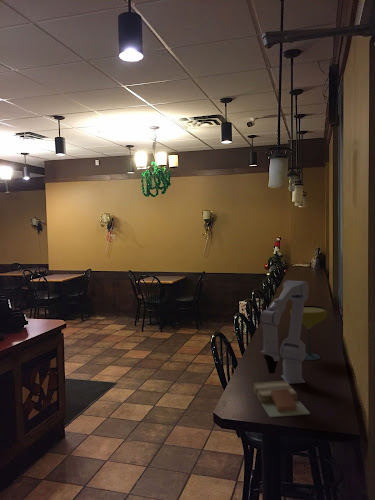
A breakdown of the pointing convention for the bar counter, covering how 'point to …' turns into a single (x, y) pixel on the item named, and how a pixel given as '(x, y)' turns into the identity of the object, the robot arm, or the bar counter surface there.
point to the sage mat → (273, 412)
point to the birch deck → (265, 389)
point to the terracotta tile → (283, 400)
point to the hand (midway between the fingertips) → (271, 372)
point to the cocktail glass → (309, 319)
